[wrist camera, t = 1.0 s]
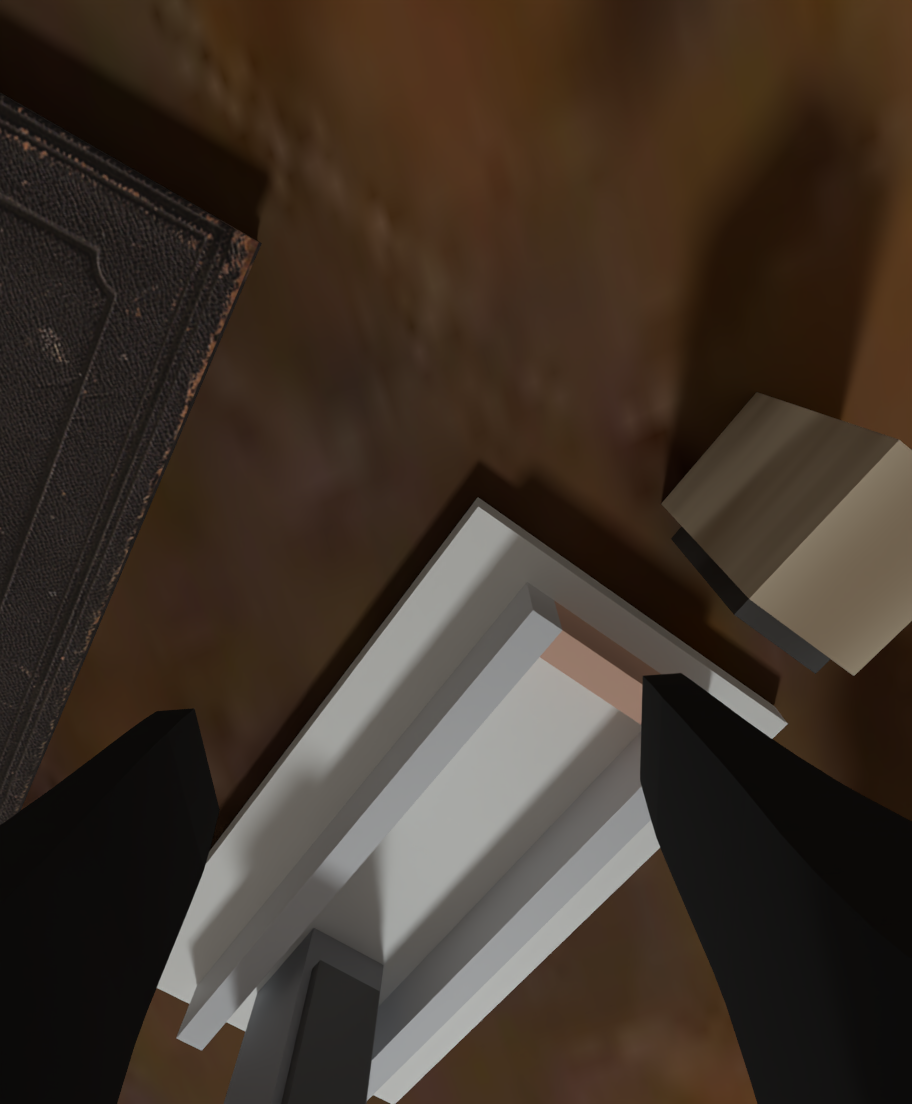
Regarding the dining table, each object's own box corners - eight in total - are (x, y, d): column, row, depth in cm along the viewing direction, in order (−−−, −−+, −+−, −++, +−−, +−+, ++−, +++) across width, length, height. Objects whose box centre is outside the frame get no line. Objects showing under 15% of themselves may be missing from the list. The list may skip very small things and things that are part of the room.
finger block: (833, 454, 20) (1006, 529, 14) (724, 572, 22) (836, 692, 15) (756, 391, 20) (898, 440, 13) (650, 516, 21) (732, 616, 15)
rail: (774, 706, 23) (921, 902, 16) (396, 1079, 29) (371, 1348, 22) (478, 497, 21) (483, 609, 13) (136, 948, 27) (9, 1197, 20)
